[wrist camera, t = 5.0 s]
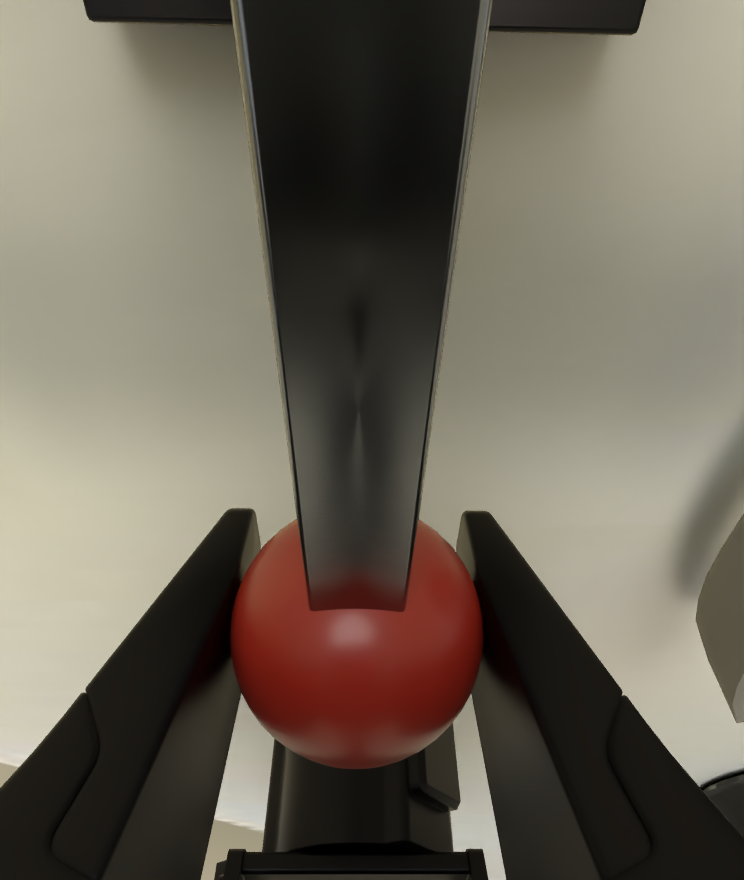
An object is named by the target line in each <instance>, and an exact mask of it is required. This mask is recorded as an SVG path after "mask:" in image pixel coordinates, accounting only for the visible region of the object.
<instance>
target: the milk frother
mask: <svg viewBox="0 0 744 880" xmlns="http://www.w3.org/2000/svg"><path fill="white" fill-rule="evenodd" d="M703 792H704V793H705V794H706V795H707V796H708V798H709V799H710V800H711V801H712V802H713V803H714V804H715V805H716V806H717V808H718V809H719V810H720V811H721V812H722V813H723V814H724V815H725V817H726V818H727V819H728V820H729V821H730V822H731V823H732V824H733V825H734V827H735V828H736V829H737V830H738V831H739V832H740V833H741V834H742V836H743V837H744V774H742V775H739V776H735V777H732V778H729V779H725V780H723V781H720V782H718V783H716V784H713V785H710V786H709V787H707V788H706V789H705V790H703Z"/></svg>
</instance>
